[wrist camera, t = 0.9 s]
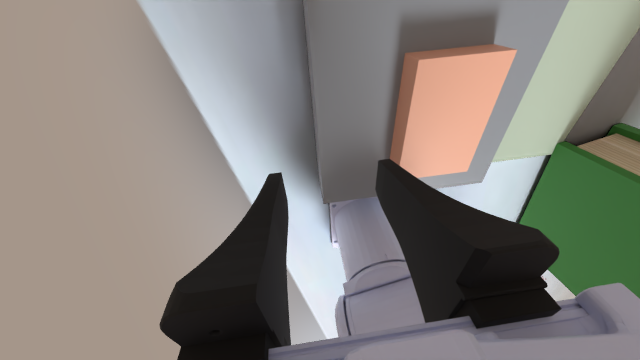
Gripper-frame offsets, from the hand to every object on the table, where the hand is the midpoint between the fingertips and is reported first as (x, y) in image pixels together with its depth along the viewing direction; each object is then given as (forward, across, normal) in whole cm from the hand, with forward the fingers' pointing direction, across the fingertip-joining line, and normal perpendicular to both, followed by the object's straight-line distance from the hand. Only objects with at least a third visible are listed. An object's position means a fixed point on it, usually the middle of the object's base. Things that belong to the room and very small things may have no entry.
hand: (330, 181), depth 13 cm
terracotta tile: (+6, -9, 0) cm, 11 cm away
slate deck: (+10, -8, 0) cm, 13 cm away
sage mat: (+10, -22, 0) cm, 24 cm away
